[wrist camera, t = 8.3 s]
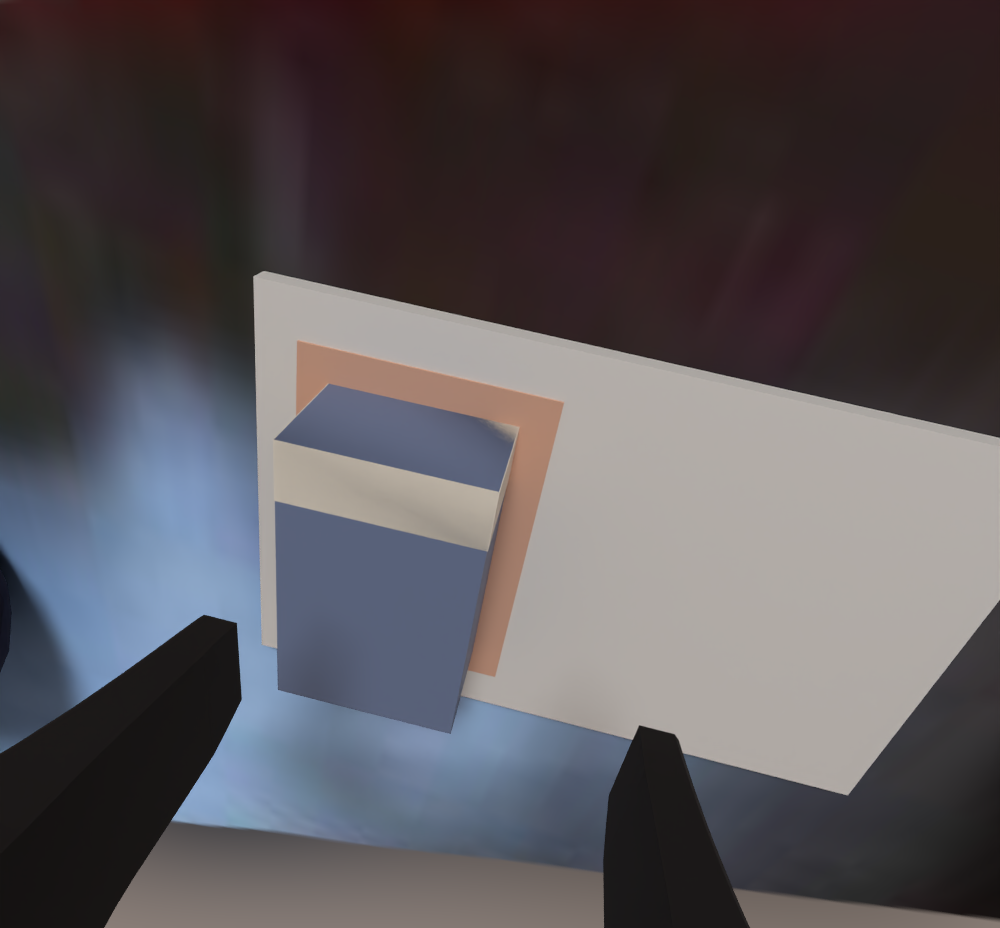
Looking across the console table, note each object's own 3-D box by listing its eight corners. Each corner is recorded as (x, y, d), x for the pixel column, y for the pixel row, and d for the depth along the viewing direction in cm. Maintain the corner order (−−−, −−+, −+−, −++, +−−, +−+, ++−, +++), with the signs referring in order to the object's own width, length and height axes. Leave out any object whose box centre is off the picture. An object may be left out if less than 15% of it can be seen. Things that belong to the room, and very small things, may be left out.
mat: (1086, 457, 17) (1102, 470, 16) (842, 780, 24) (848, 797, 23) (263, 270, 18) (252, 277, 17) (269, 632, 25) (261, 645, 25)
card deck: (473, 651, 23) (451, 733, 20) (320, 613, 23) (277, 689, 20) (519, 426, 18) (500, 491, 15) (327, 383, 18) (273, 439, 16)
